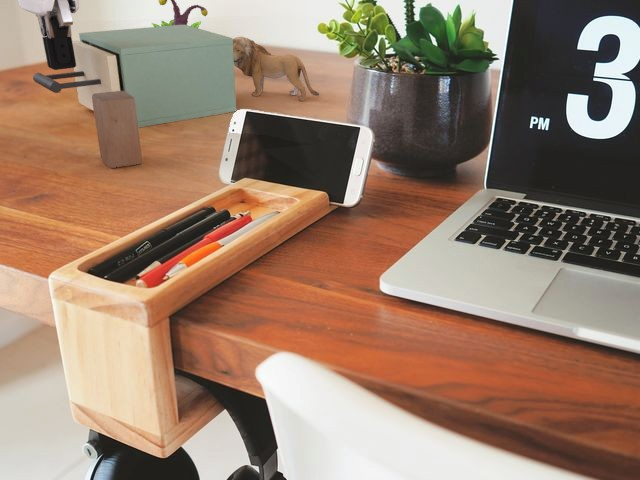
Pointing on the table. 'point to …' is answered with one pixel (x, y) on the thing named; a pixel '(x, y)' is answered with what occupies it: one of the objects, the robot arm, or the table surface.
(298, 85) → the lion figurine
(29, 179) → the table surface
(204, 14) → the plant
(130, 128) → the wooden block
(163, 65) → the cabinet
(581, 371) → the table surface
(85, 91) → the drawer
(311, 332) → the table surface
